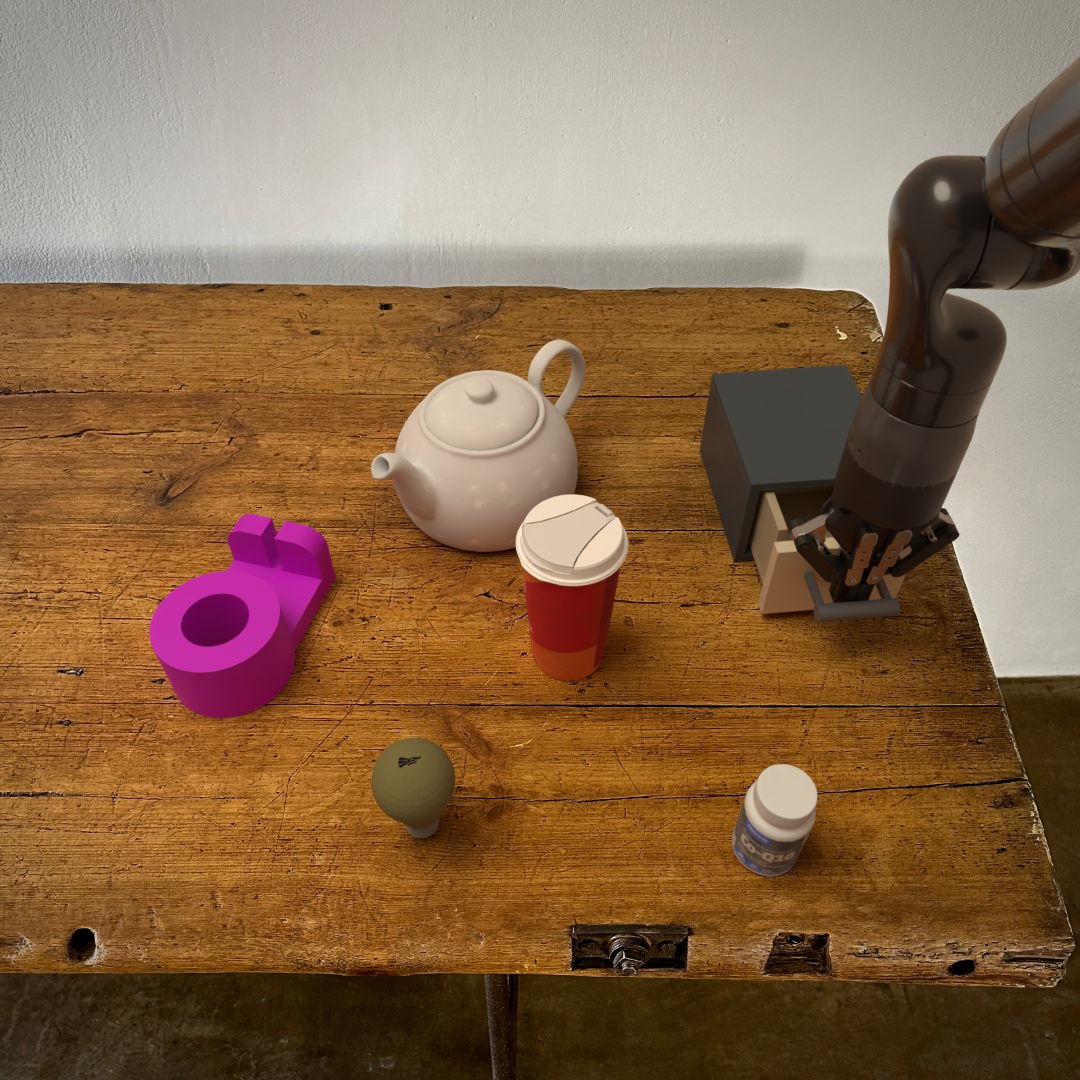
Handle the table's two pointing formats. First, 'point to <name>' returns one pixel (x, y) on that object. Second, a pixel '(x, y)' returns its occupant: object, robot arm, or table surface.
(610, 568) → the coffee cup
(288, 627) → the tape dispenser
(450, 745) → the table surface
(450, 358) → the table surface
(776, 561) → the storage drawer
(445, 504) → the teapot
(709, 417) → the cabinet
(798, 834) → the pill bottle
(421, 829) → the light bulb
